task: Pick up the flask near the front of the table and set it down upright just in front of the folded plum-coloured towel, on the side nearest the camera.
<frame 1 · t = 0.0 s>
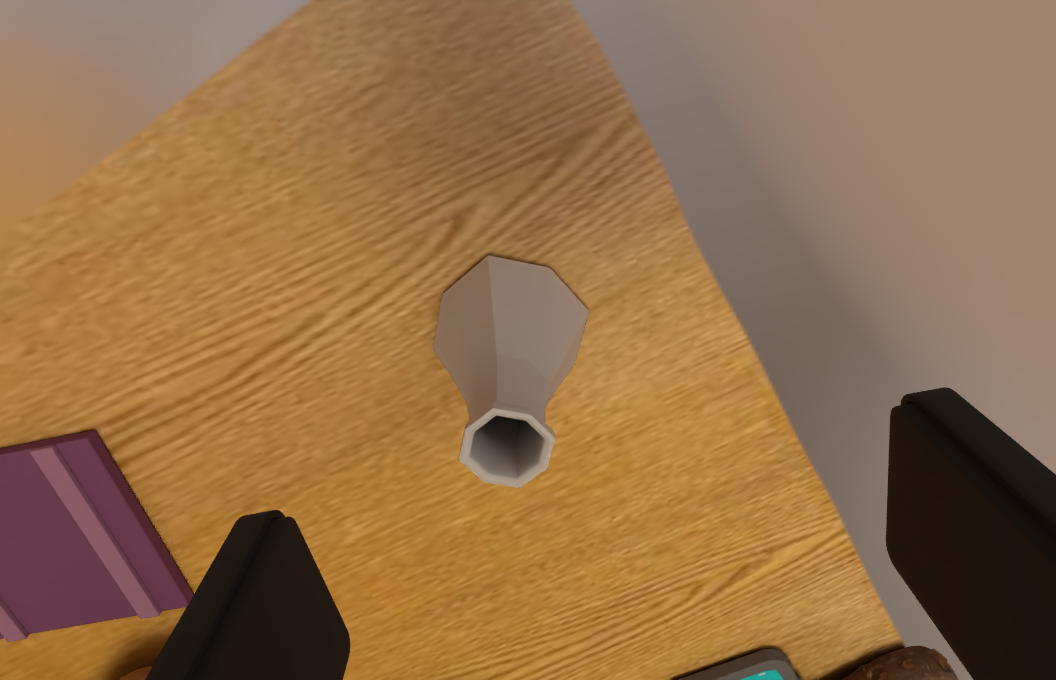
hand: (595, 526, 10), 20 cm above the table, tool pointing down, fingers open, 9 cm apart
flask: (510, 326, 31), on the table
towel: (40, 538, 36), on the table
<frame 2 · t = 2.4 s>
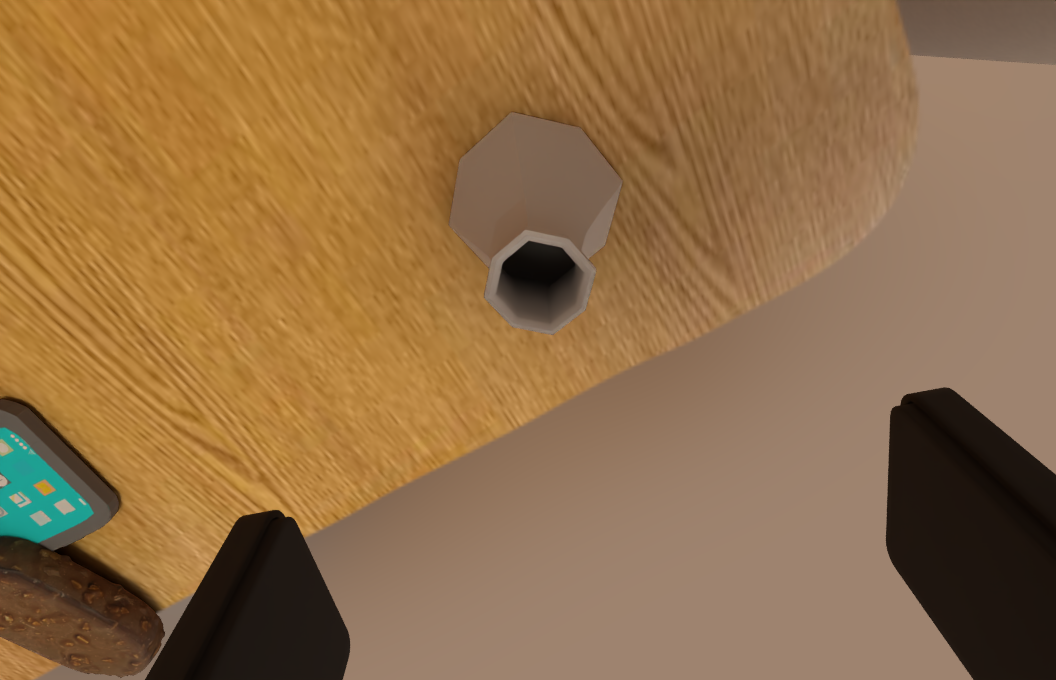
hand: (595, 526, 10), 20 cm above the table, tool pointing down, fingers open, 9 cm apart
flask: (534, 200, 28), on the table
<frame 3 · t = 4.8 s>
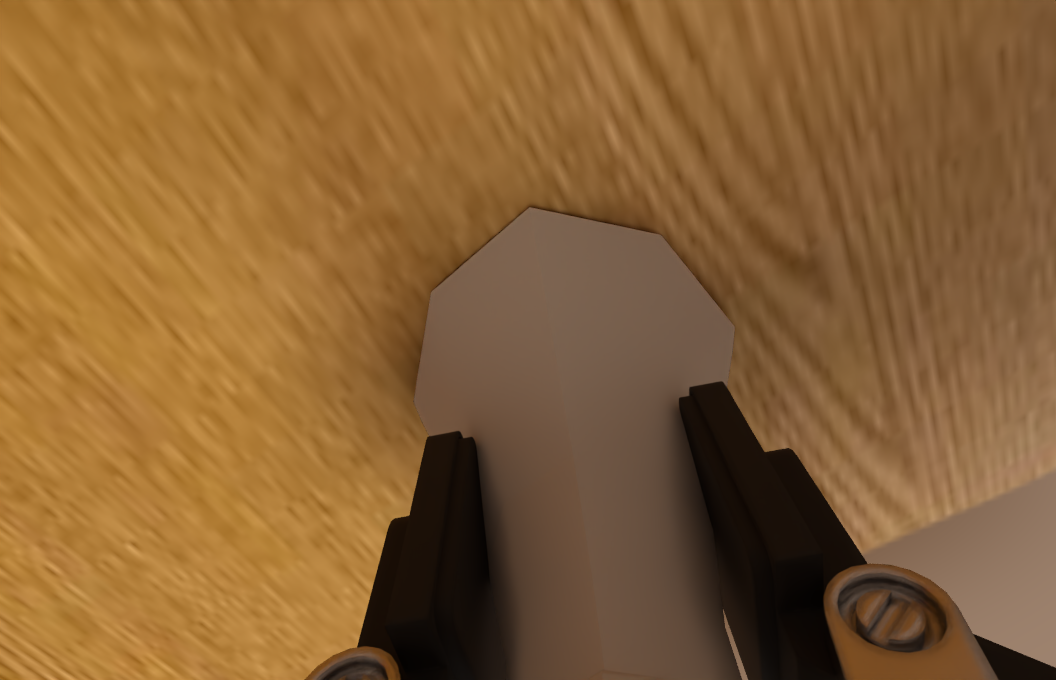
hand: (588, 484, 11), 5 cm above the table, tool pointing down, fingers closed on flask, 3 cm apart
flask: (568, 355, 15), on the table, touching gripper
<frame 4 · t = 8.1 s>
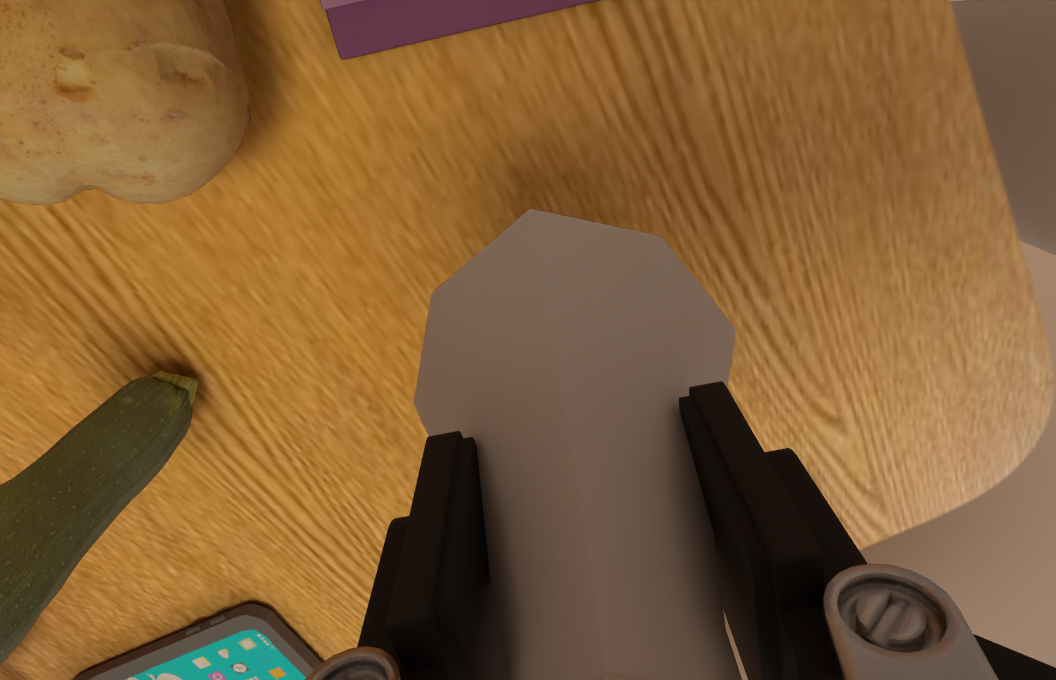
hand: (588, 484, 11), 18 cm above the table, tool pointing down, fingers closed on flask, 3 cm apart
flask: (569, 357, 15), point 13 cm above the table, touching gripper
potato: (132, 16, 24), on the table
vegetable: (169, 384, 31), on the table
smartphone: (203, 679, 40), on the table
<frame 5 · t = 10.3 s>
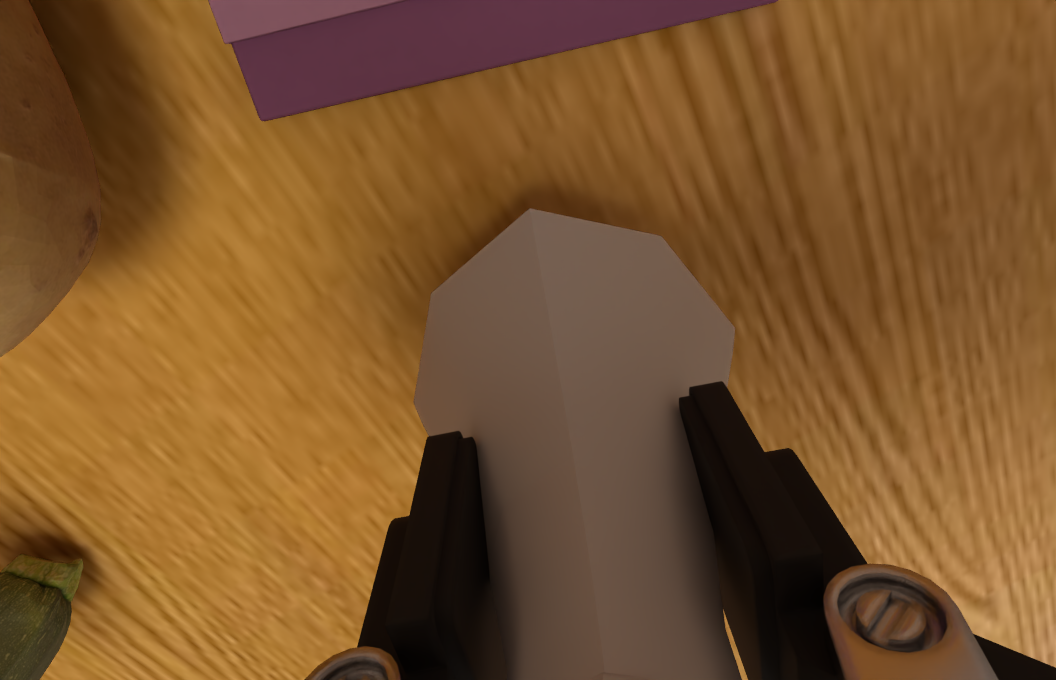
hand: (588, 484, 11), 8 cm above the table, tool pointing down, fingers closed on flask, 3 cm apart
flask: (568, 356, 15), point 3 cm above the table, touching gripper
vegetable: (45, 562, 22), on the table
when the fingers open (5 cm above the table, at t = 11.5 s): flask stays where it is, on the table.
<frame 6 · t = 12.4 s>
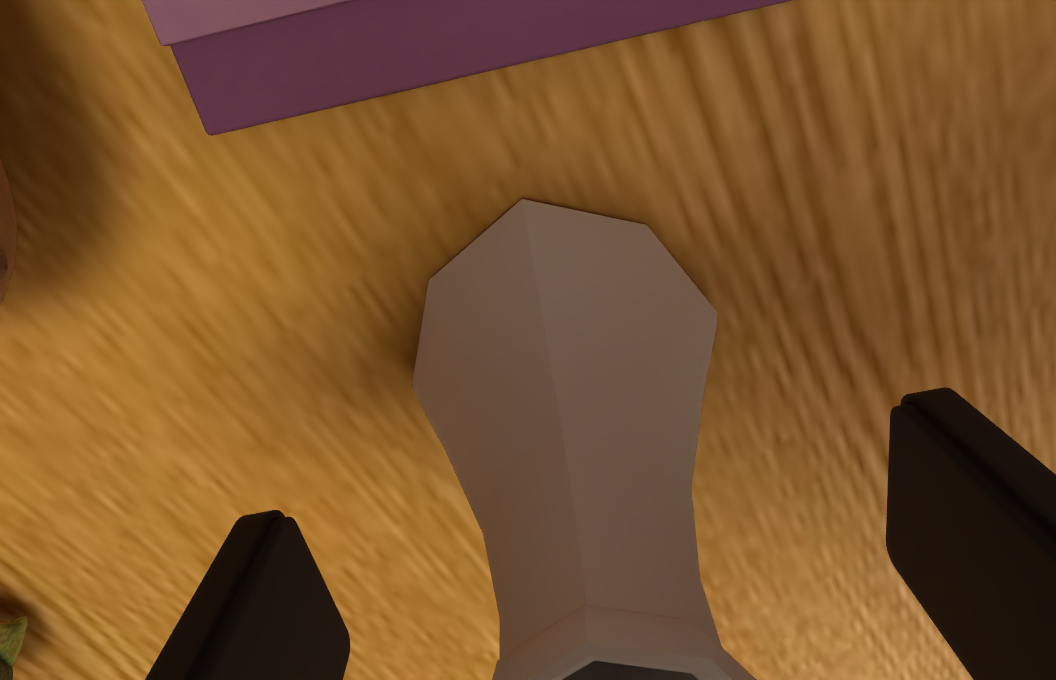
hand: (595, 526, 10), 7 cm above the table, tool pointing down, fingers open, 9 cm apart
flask: (560, 341, 16), on the table
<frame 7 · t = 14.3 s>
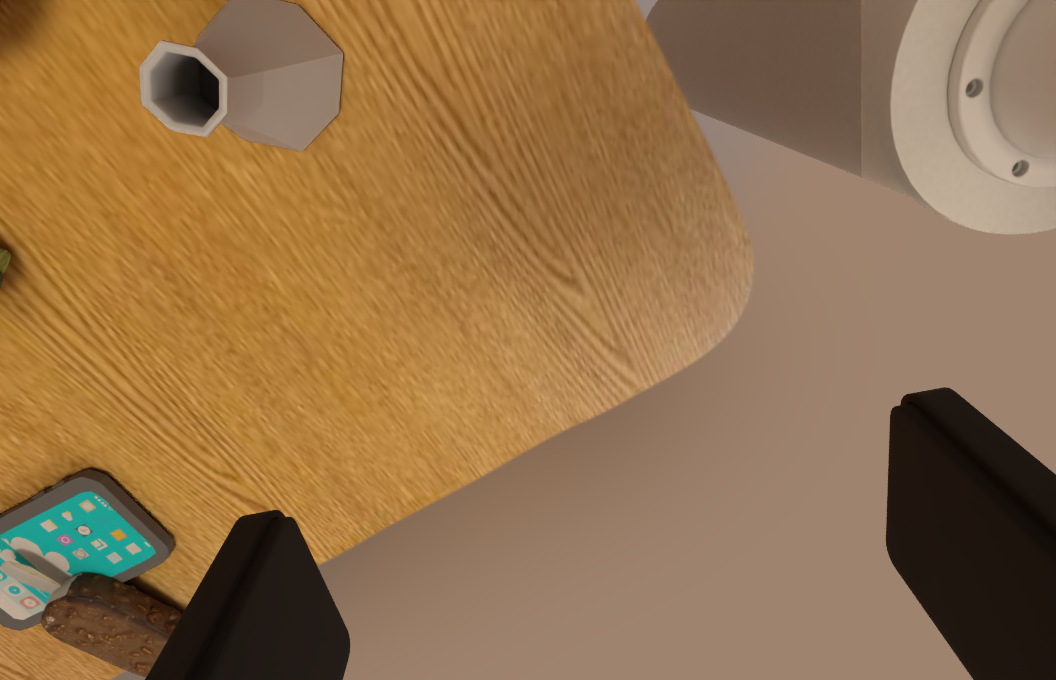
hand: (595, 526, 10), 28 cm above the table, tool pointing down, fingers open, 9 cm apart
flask: (273, 74, 33), on the table
smartphone: (58, 548, 45), on the table
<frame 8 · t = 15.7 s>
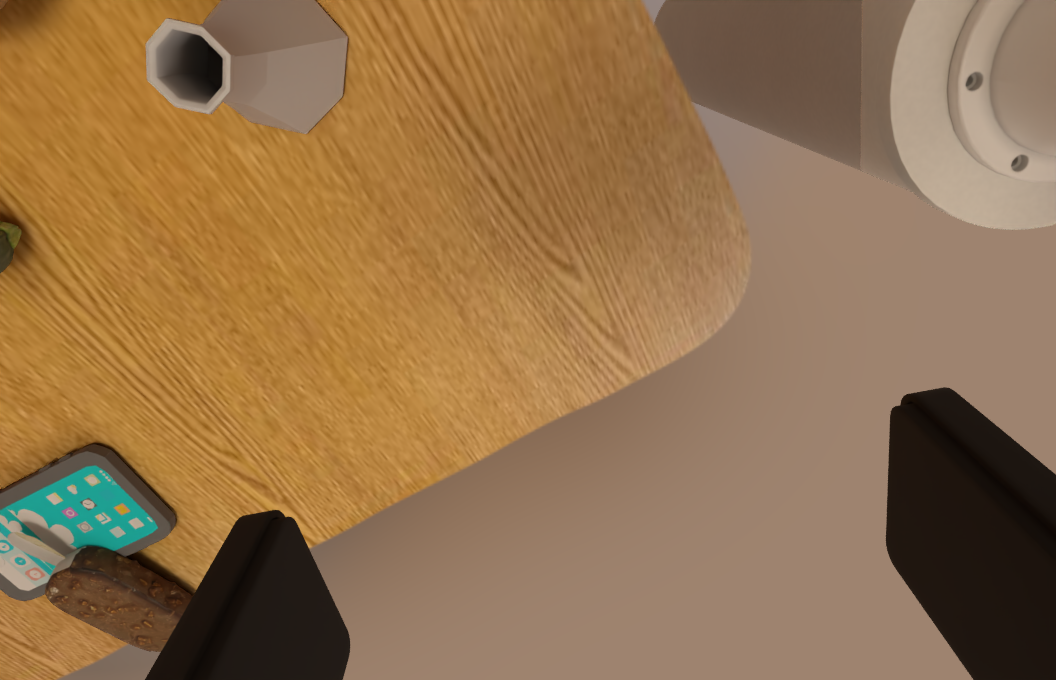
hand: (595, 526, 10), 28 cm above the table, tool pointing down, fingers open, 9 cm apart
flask: (279, 57, 33), on the table
ice cream bar: (4, 534, 43), point 3 cm above the table
vegetable: (0, 235, 37), on the table
smartphone: (63, 521, 46), on the table
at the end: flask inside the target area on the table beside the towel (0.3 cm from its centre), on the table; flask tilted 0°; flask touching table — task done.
